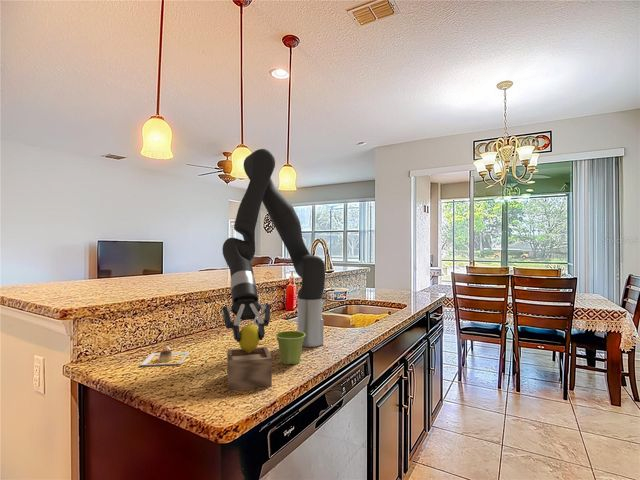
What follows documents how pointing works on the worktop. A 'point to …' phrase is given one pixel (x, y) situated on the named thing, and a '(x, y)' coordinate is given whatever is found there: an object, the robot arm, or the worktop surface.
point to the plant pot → (290, 346)
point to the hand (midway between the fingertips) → (250, 339)
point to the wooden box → (249, 368)
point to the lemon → (249, 338)
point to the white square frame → (164, 357)
